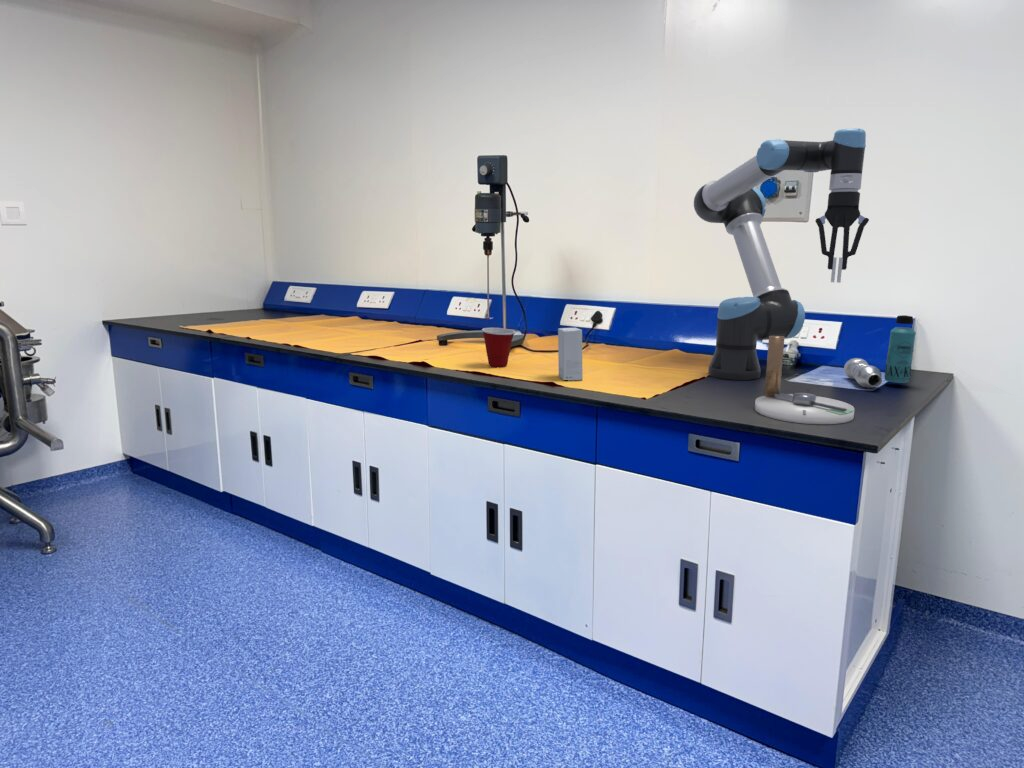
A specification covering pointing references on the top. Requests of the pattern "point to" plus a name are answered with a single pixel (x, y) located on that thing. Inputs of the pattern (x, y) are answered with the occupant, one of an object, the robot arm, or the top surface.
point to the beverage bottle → (900, 352)
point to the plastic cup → (498, 345)
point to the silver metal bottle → (863, 373)
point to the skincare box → (570, 353)
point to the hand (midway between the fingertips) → (835, 282)
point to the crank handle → (775, 377)
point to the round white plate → (804, 410)
